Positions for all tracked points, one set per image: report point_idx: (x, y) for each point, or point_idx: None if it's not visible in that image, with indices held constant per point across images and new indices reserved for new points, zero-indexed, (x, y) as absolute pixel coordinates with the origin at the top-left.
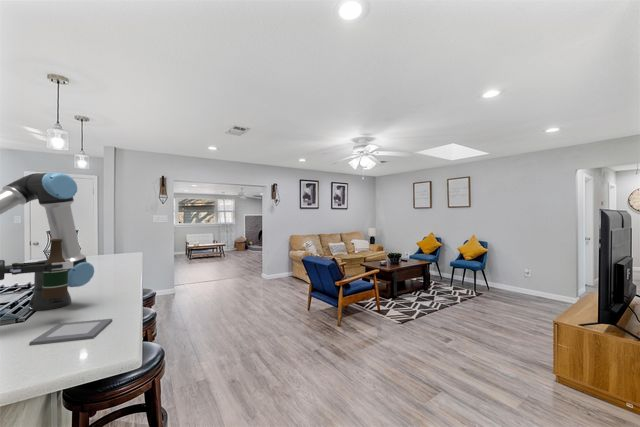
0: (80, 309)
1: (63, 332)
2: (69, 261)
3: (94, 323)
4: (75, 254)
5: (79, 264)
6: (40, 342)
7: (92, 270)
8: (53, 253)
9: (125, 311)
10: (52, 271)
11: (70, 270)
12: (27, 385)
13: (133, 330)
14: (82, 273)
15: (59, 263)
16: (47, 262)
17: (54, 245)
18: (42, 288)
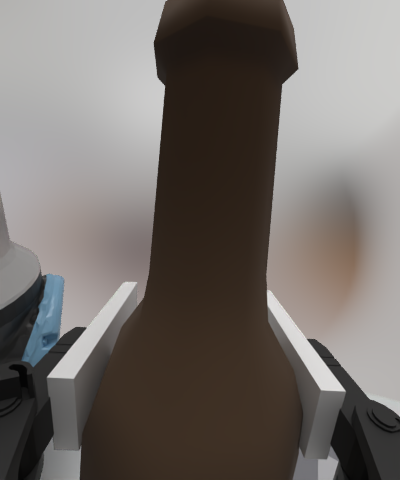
0: (58, 472)
1: None
2: (136, 296)
3: (334, 473)
4: (8, 241)
5: (58, 295)
6: None
7: (62, 303)
8: (263, 257)
9: None
10: (295, 460)
11: (35, 348)
12: None
13: (393, 405)
14: (59, 332)
15: (305, 343)
16: (262, 418)
17: (274, 133)
18: None
